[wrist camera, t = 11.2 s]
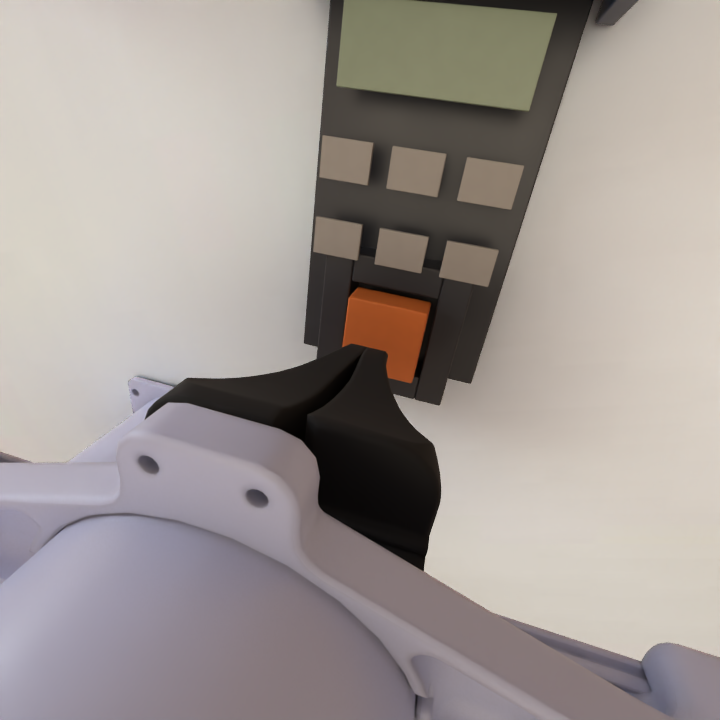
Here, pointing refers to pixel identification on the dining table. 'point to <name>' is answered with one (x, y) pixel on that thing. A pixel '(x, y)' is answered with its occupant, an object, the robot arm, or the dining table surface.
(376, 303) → the on key
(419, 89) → the keypad
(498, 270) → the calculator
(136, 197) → the dining table surface
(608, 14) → the cover
